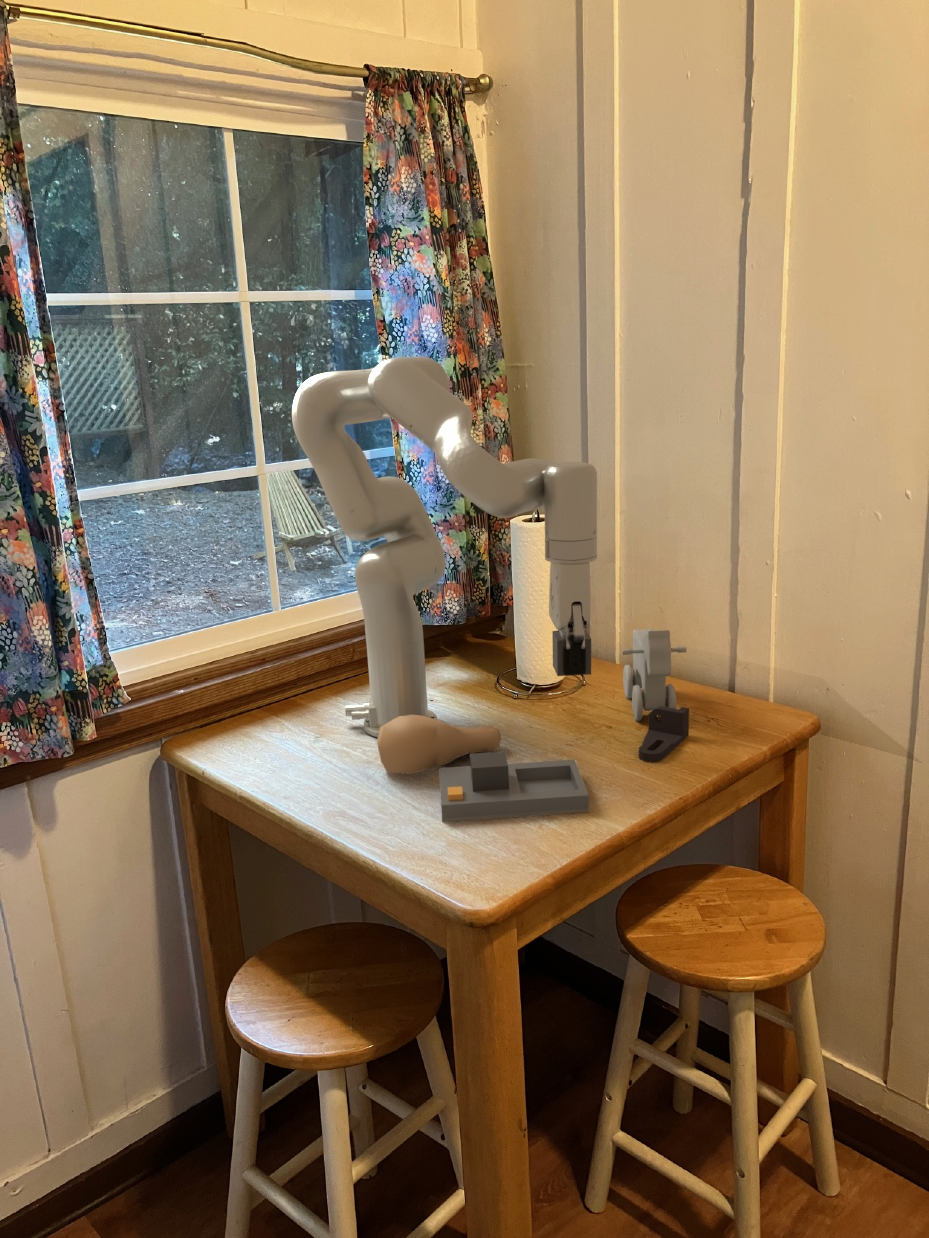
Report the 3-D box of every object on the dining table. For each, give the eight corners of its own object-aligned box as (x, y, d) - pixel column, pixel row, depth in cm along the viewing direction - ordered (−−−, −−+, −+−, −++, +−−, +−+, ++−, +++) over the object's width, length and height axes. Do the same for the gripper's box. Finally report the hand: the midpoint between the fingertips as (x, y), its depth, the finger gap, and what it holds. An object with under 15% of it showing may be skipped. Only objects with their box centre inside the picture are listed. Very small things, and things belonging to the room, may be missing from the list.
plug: (557, 676, 142) (557, 637, 140) (552, 665, 147) (552, 627, 145) (591, 674, 142) (591, 635, 141) (585, 663, 147) (585, 626, 145)
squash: (364, 769, 149) (363, 711, 149) (479, 756, 158) (478, 702, 158) (391, 783, 139) (390, 721, 139) (511, 768, 148) (511, 710, 148)
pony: (692, 731, 156) (693, 632, 152) (628, 733, 157) (628, 634, 152) (669, 689, 176) (670, 600, 171) (612, 692, 176) (611, 603, 172)
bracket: (622, 758, 148) (622, 728, 147) (654, 730, 158) (654, 702, 157) (657, 765, 145) (658, 735, 144) (688, 737, 155) (689, 708, 153)
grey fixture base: (442, 821, 130) (439, 781, 129) (439, 783, 142) (437, 746, 140) (589, 812, 131) (588, 771, 129) (574, 774, 142) (574, 737, 141)
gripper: (537, 538, 148) (539, 651, 153) (553, 562, 131) (554, 688, 136) (586, 536, 148) (586, 649, 153) (608, 560, 132) (607, 685, 137)
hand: (571, 666), depth 144 cm, fingers closed on plug, 5 cm apart
